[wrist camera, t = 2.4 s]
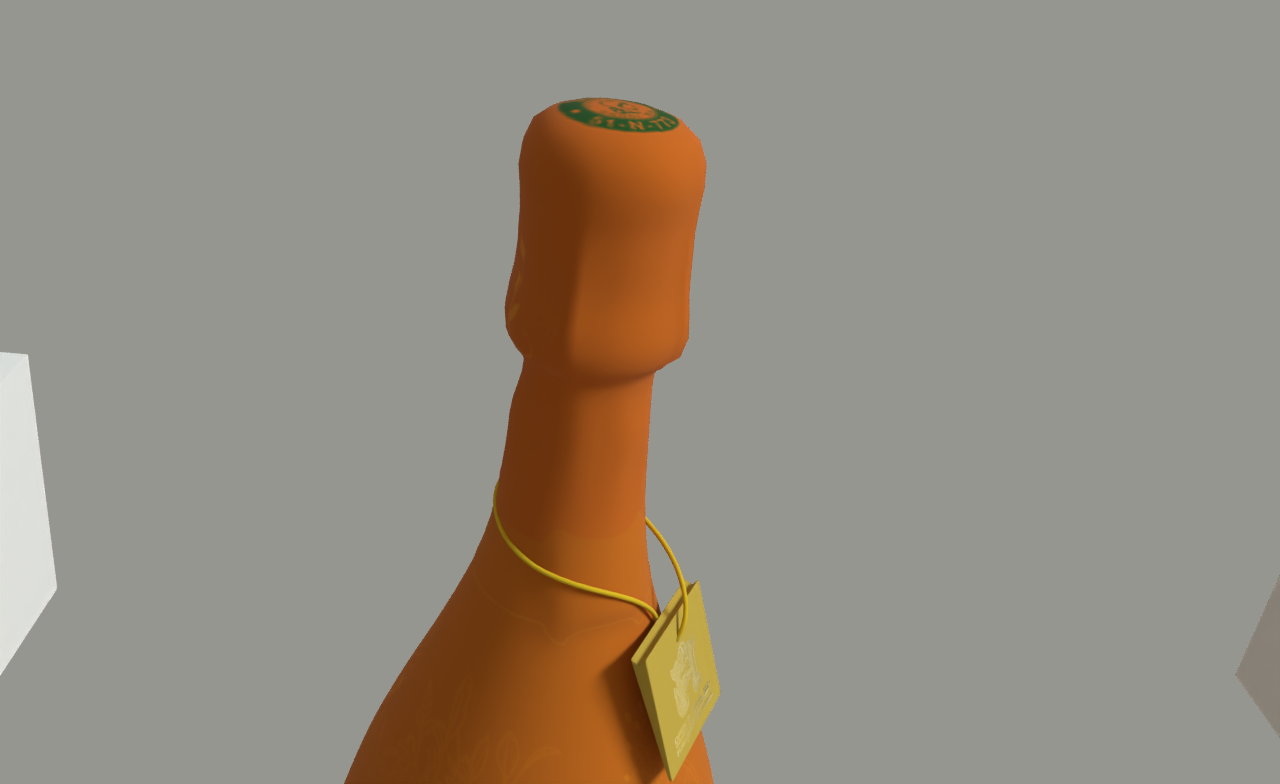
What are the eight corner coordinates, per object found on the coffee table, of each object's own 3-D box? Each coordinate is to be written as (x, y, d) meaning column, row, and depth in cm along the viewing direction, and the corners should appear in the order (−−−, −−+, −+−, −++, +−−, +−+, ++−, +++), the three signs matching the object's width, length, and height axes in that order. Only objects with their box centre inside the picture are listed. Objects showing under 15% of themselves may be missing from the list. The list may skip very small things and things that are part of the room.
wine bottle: (385, 1416, 28) (466, 227, 15) (274, 1056, 36) (256, 34, 22) (725, 1220, 33) (1028, 189, 19) (566, 938, 40) (704, 41, 27)
